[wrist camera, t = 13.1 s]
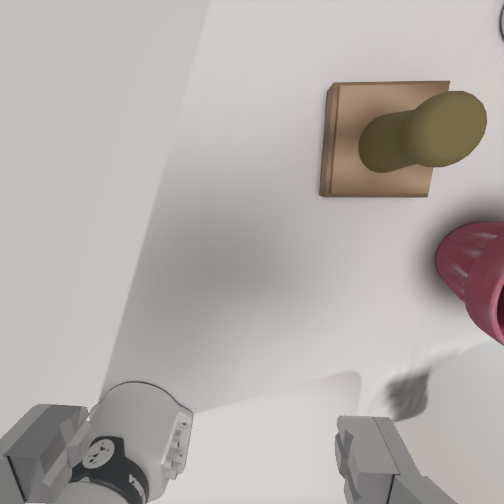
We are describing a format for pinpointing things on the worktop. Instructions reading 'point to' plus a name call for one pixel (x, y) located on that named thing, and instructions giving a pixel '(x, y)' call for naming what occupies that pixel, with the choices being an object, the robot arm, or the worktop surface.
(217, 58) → the worktop surface
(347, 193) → the walnut stand
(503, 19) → the supplement bottle
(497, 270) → the plant pot
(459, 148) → the cork
